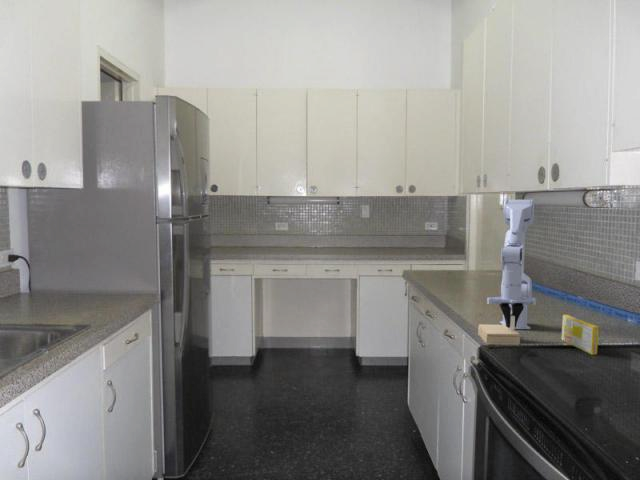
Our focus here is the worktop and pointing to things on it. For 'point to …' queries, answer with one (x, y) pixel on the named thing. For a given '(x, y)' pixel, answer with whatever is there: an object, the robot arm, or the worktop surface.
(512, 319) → the lid
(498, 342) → the beige shallow box
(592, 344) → the candy box
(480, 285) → the worktop surface
